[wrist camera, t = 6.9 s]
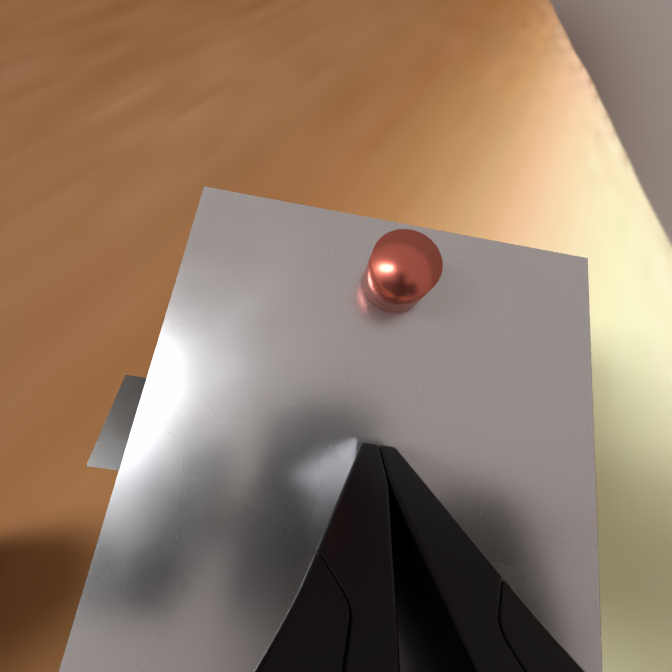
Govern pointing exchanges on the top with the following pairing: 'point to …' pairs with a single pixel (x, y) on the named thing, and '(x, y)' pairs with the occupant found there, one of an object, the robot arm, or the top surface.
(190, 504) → the lid
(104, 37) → the top surface
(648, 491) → the top surface
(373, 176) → the top surface
